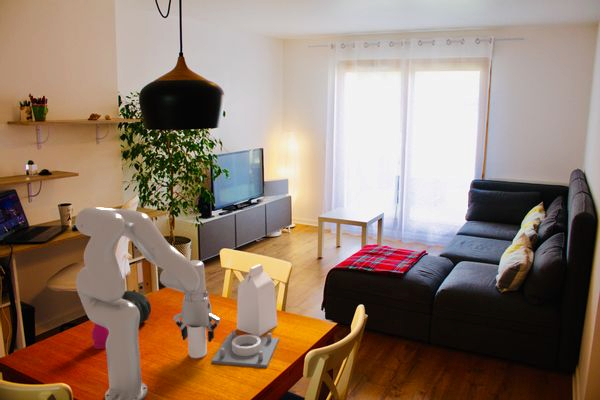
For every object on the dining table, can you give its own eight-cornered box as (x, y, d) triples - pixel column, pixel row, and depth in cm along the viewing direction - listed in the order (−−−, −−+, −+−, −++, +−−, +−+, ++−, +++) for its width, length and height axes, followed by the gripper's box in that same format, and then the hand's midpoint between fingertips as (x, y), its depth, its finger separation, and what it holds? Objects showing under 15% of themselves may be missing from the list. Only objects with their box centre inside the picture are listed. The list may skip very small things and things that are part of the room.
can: (185, 356, 182) (183, 325, 180) (196, 348, 188) (195, 318, 185) (199, 360, 179) (197, 329, 177) (210, 352, 185) (209, 322, 182)
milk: (259, 336, 197) (257, 273, 192) (236, 329, 203) (235, 267, 198) (277, 325, 207) (276, 264, 201) (255, 318, 213) (254, 259, 208)
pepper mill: (106, 350, 186) (101, 300, 182) (88, 348, 188) (83, 298, 184) (117, 341, 193) (112, 292, 189) (100, 339, 195) (95, 291, 191)
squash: (163, 305, 213) (139, 278, 213) (144, 321, 199) (119, 293, 199) (142, 323, 218) (120, 297, 218) (122, 340, 204) (98, 312, 204)
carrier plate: (267, 367, 174) (266, 357, 173) (211, 362, 177) (211, 352, 177) (278, 340, 193) (278, 330, 193) (228, 336, 197) (228, 327, 196)
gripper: (221, 292, 181) (224, 335, 185) (176, 289, 184) (179, 332, 187) (215, 300, 174) (217, 346, 177) (167, 298, 177) (171, 342, 180)
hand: (198, 339), depth 182 cm, fingers open, 9 cm apart
